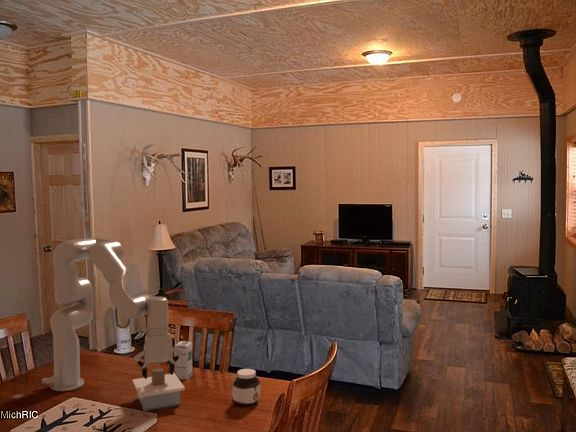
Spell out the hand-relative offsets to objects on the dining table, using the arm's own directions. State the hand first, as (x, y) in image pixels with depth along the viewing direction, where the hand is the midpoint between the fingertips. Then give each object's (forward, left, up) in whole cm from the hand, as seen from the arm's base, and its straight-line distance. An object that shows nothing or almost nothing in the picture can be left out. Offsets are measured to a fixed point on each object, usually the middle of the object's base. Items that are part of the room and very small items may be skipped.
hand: (158, 375), depth 196 cm
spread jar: (+30, -12, -10) cm, 34 cm away
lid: (0, 0, -4) cm, 4 cm away
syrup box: (+15, +21, -10) cm, 28 cm away
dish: (0, 0, -10) cm, 10 cm away
